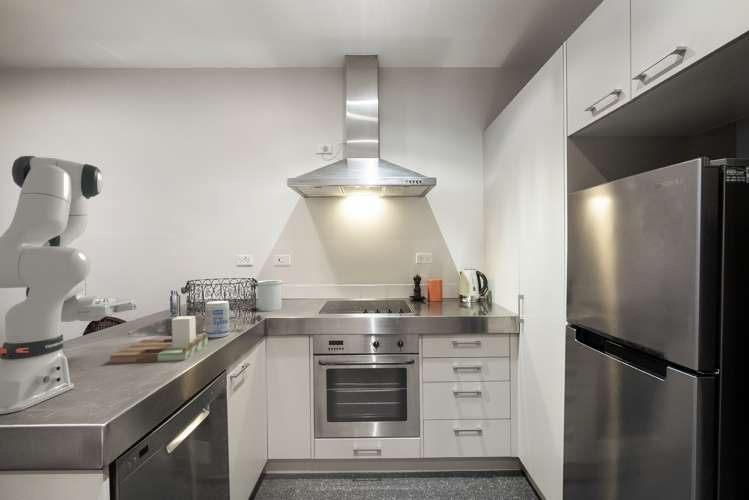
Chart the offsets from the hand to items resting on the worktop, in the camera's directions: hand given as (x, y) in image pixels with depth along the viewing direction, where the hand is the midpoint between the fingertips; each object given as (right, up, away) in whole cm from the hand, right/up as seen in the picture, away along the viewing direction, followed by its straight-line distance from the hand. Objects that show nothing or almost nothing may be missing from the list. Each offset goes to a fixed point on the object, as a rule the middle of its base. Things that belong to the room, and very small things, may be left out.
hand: (135, 307), depth 134 cm
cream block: (+17, -14, +3) cm, 22 cm away
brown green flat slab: (+9, -17, +2) cm, 19 cm away
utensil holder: (+22, -16, +95) cm, 99 cm away
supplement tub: (+19, -17, +27) cm, 37 cm away
